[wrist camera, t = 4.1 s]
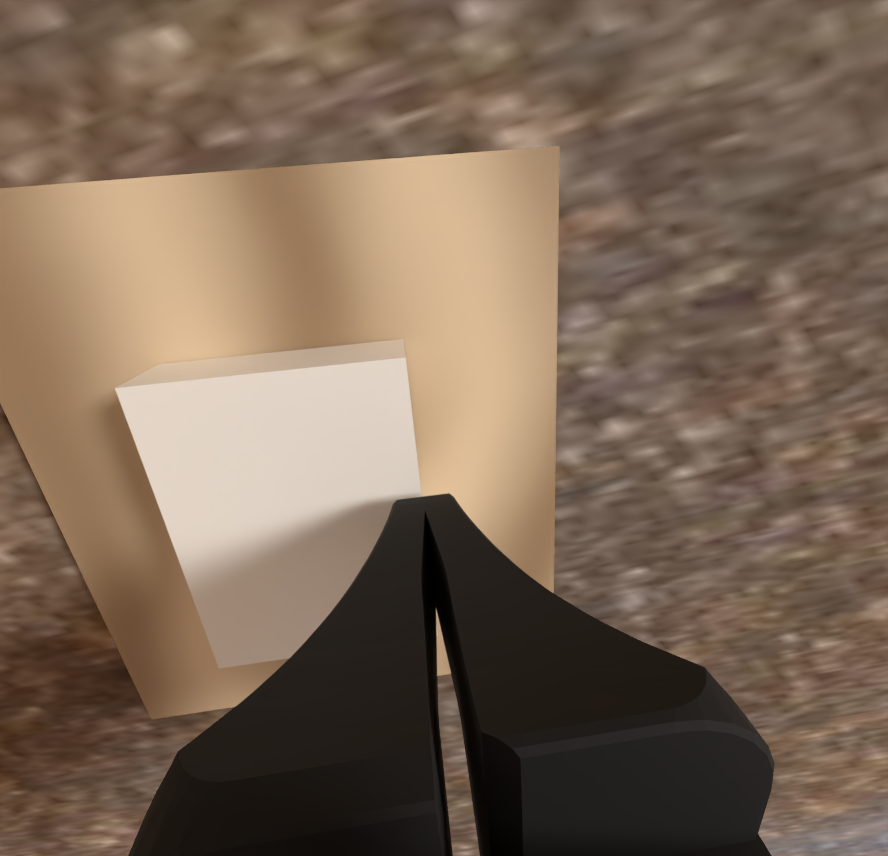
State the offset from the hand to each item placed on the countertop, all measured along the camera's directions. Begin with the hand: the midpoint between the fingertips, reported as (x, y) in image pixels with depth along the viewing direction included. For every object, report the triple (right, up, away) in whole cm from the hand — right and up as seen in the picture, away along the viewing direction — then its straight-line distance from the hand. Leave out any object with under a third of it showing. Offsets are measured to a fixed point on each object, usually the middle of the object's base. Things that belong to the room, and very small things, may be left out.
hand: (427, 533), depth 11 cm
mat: (-3, +1, +3) cm, 5 cm away
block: (0, +1, +2) cm, 2 cm away
